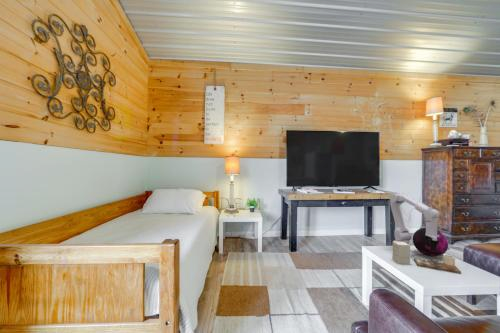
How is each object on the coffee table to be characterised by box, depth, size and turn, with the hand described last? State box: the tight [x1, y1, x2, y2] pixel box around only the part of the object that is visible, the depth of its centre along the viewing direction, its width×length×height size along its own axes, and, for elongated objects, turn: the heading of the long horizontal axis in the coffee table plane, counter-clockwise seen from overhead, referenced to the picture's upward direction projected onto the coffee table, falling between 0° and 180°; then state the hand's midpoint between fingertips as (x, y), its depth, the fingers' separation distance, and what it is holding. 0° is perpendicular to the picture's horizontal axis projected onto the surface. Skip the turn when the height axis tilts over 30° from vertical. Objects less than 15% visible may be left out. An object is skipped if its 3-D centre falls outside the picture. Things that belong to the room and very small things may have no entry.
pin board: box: [413, 257, 462, 275], centre depth 140 cm, size 21×11×4 cm, turn 64°
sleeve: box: [442, 254, 456, 268], centre depth 137 cm, size 5×5×6 cm
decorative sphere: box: [412, 227, 449, 258], centre depth 159 cm, size 20×20×20 cm
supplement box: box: [391, 240, 411, 265], centre depth 146 cm, size 7×7×13 cm
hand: (431, 248), depth 143 cm, fingers open, 7 cm apart
